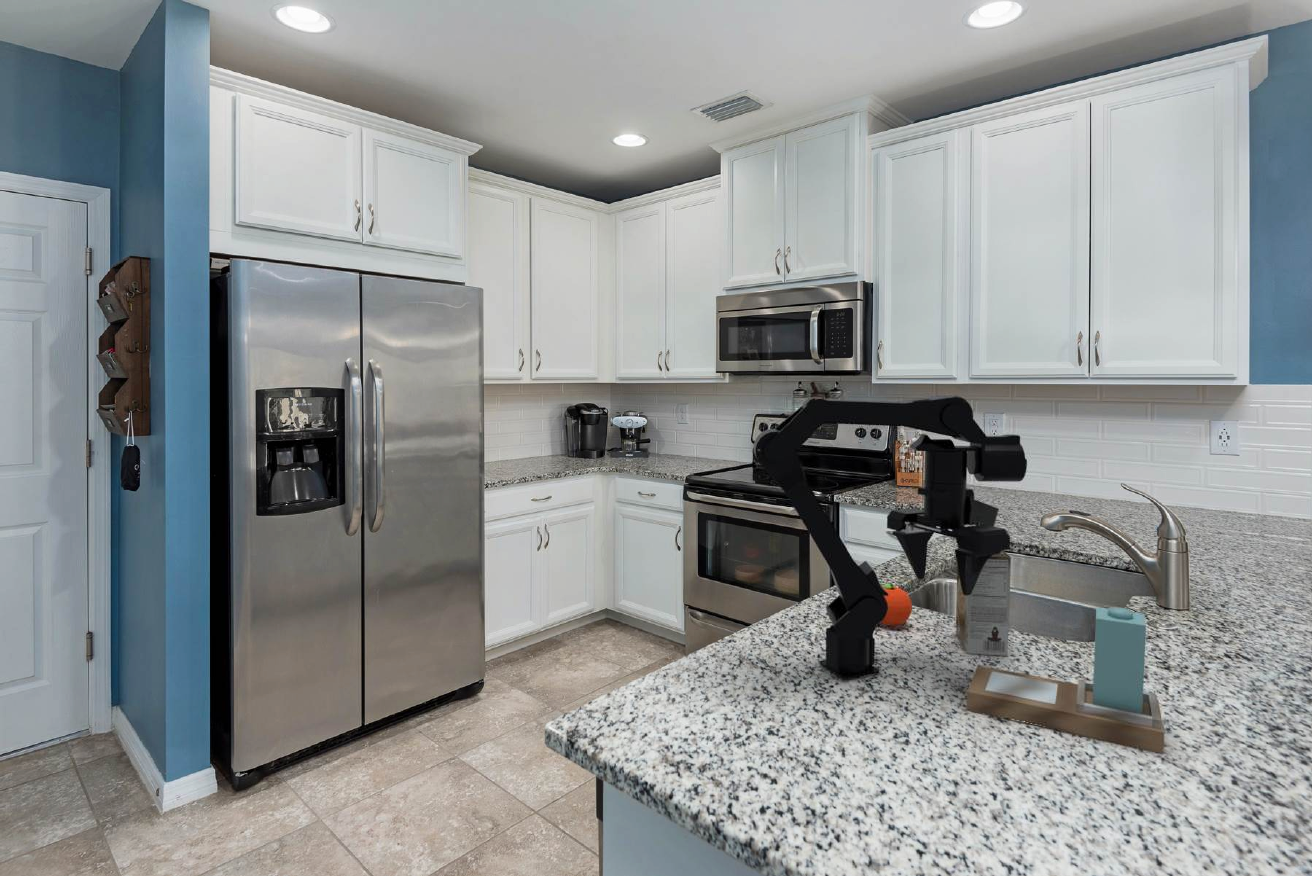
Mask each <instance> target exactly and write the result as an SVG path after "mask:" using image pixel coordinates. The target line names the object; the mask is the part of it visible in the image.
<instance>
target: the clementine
mask: <svg viewBox="0 0 1312 876" xmlns="http://www.w3.org/2000/svg"><path fill="white" fill-rule="evenodd" d="M881 585H882V587H883V588H884V589H885V590H886V592H887V593H888V596H884V597H885V599H886V601H887V604H888V610H887V613H886V616H885V618H884V619H883V620H882V621H881V622H880V623H881V624H884V625H886V626H889V627H895V626H896V627H897V626H900V625H902V624H905V623H906V622H907V621H908V620H909V618H910V616H911V614H912V612H913V611H912V610H913V605H912V601H911V598H910V596H909V595H908V593H907V592H906V591H904V590H903V589H902V588H900V587H898V586H894V585H891V584H890V585H889V584H881Z"/></svg>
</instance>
